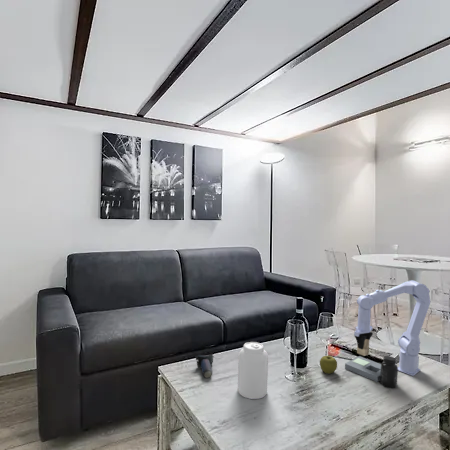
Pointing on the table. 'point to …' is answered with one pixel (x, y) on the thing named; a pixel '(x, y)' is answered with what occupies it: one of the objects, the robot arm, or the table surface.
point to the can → (252, 371)
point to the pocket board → (365, 368)
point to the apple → (328, 364)
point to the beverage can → (205, 364)
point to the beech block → (364, 348)
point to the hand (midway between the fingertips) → (362, 347)
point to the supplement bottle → (389, 372)
